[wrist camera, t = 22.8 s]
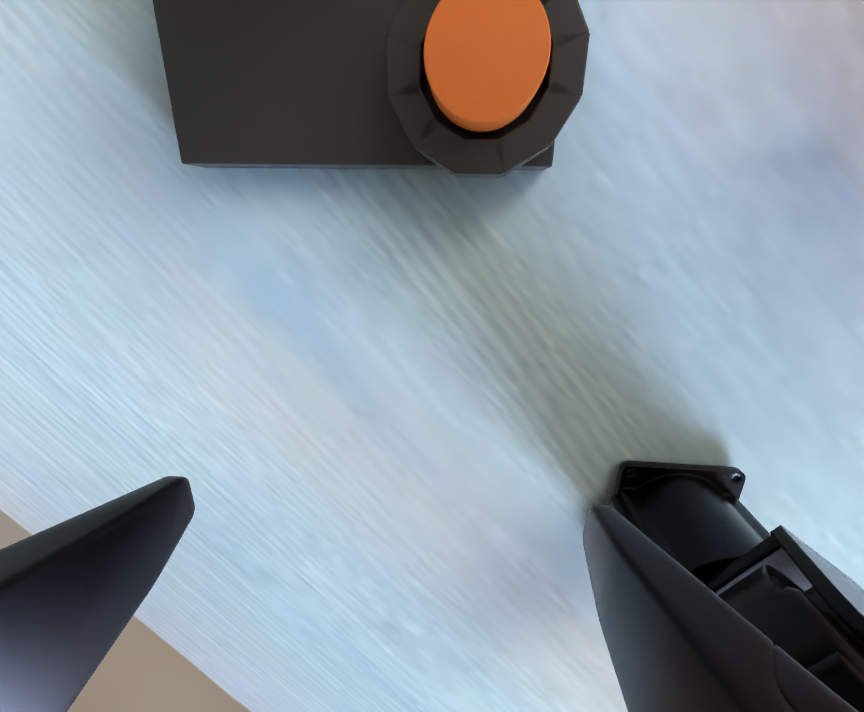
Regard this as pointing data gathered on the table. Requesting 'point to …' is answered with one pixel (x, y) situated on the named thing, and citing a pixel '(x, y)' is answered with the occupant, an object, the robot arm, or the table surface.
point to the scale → (344, 88)
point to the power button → (486, 59)
